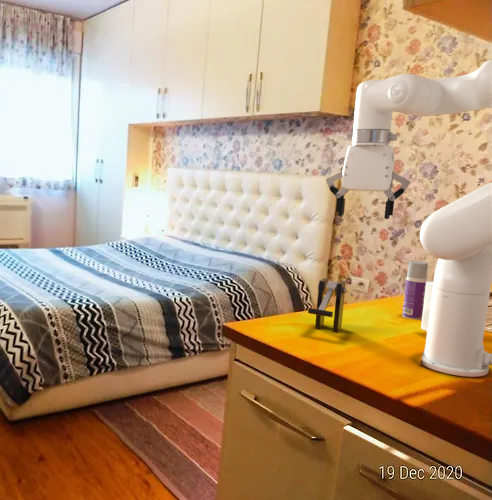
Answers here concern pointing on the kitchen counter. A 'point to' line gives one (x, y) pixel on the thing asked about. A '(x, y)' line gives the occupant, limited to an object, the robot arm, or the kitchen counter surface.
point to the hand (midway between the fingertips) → (363, 217)
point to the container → (415, 290)
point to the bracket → (338, 305)
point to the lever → (326, 300)
